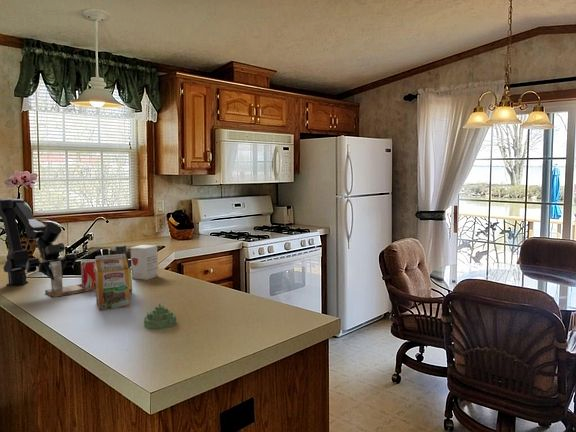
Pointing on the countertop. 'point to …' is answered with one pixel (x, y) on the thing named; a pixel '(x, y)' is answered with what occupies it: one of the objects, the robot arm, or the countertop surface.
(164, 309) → the decorative artifact
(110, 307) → the food package
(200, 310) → the countertop surface
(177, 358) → the countertop surface
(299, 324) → the countertop surface
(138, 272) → the supplement box
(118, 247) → the sauce bottle
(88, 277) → the soda can
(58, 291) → the brown board
